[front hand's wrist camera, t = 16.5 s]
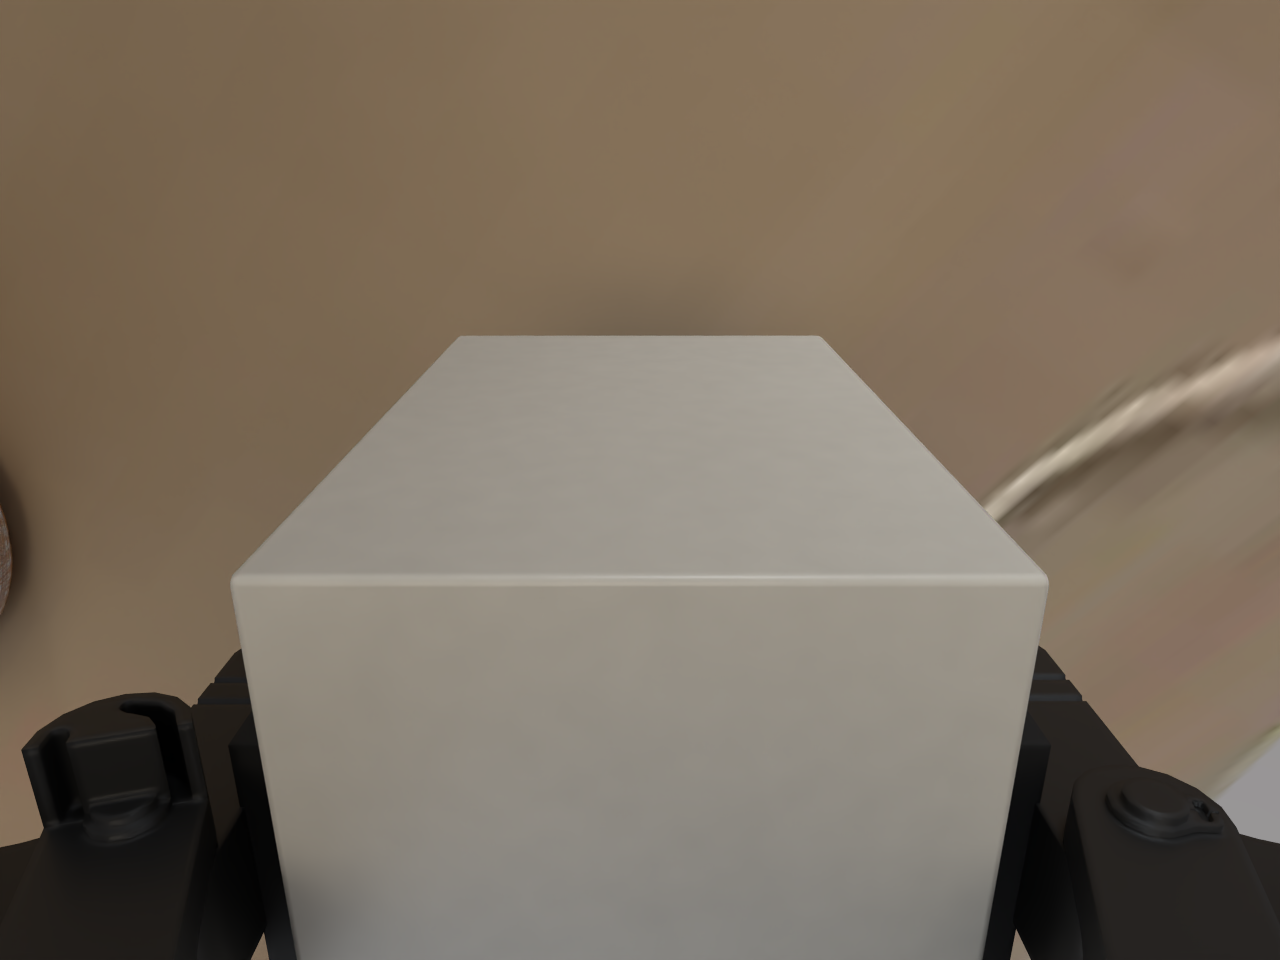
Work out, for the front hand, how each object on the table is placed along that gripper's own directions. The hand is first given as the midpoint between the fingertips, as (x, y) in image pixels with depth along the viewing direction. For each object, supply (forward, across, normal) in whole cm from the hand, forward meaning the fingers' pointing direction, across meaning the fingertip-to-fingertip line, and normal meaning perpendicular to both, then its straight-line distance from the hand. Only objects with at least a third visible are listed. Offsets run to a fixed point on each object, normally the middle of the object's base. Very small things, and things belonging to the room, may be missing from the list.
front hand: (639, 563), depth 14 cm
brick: (+1, 0, 0) cm, 1 cm away
